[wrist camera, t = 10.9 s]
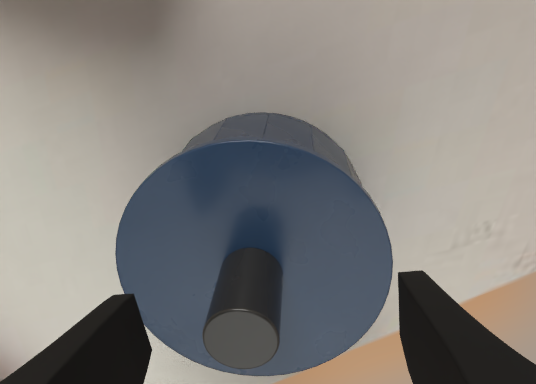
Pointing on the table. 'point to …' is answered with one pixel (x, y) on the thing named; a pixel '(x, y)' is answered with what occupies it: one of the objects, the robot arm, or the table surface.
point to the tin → (276, 134)
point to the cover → (254, 256)
